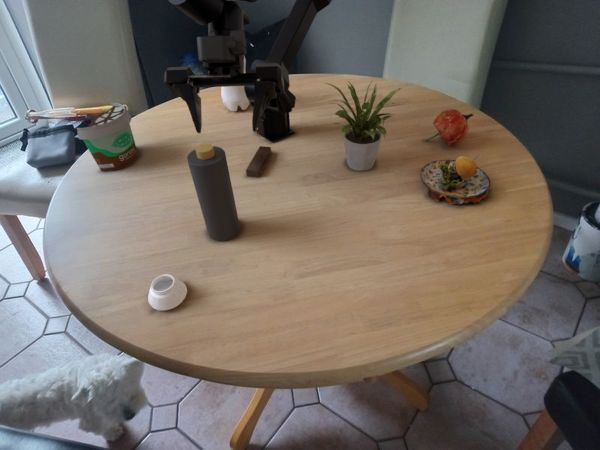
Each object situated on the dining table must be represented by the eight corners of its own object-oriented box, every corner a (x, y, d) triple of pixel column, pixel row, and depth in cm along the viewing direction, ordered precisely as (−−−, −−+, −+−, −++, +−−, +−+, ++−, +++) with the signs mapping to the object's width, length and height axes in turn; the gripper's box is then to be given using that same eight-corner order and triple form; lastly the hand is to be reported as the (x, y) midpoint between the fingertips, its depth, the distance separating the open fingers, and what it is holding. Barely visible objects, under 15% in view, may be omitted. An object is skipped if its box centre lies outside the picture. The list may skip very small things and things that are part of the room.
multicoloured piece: (453, 161, 72) (463, 125, 67) (503, 192, 64) (518, 154, 60) (404, 178, 69) (410, 143, 64) (450, 214, 61) (462, 176, 56)
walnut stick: (260, 152, 78) (259, 146, 77) (271, 153, 78) (270, 146, 77) (247, 176, 72) (245, 169, 71) (258, 177, 71) (257, 170, 70)
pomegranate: (432, 160, 77) (481, 138, 71) (415, 131, 75) (464, 105, 69) (435, 146, 83) (481, 125, 77) (419, 118, 80) (465, 94, 75)
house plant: (306, 174, 71) (303, 90, 60) (332, 141, 80) (334, 63, 69) (378, 191, 66) (389, 103, 55) (398, 153, 75) (410, 71, 64)
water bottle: (250, 112, 93) (234, -3, 76) (221, 113, 93) (199, -1, 76) (253, 100, 98) (238, -10, 81) (226, 101, 98) (206, -8, 82)
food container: (124, 177, 73) (104, 131, 66) (96, 175, 74) (74, 129, 67) (154, 146, 82) (139, 102, 75) (129, 144, 83) (112, 101, 76)
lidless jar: (194, 288, 51) (165, 278, 53) (189, 274, 49) (159, 264, 51) (172, 316, 48) (142, 305, 50) (166, 303, 46) (134, 291, 48)
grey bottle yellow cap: (229, 215, 63) (212, 134, 53) (246, 231, 60) (230, 148, 50) (202, 229, 61) (178, 147, 50) (217, 246, 57) (195, 162, 47)
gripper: (148, 11, 54) (147, 116, 53) (276, 5, 53) (278, 112, 52) (177, 51, 65) (177, 138, 64) (283, 47, 64) (284, 135, 63)
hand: (226, 131), depth 60 cm, fingers open, 9 cm apart
